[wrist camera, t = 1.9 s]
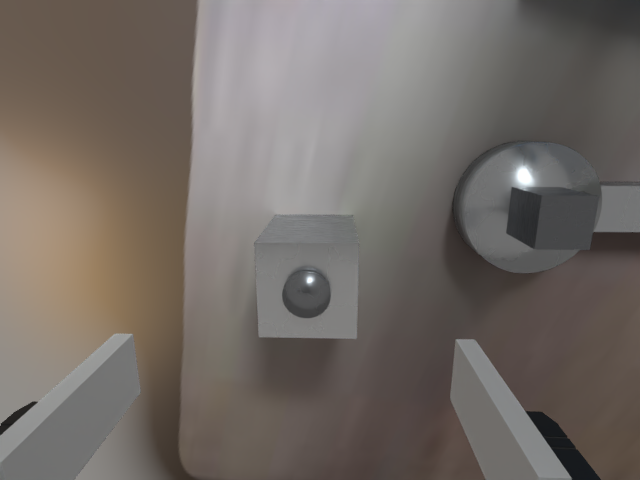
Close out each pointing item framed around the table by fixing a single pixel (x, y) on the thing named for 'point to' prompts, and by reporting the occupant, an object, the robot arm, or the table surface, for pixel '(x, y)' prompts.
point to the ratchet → (538, 205)
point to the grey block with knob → (308, 277)
